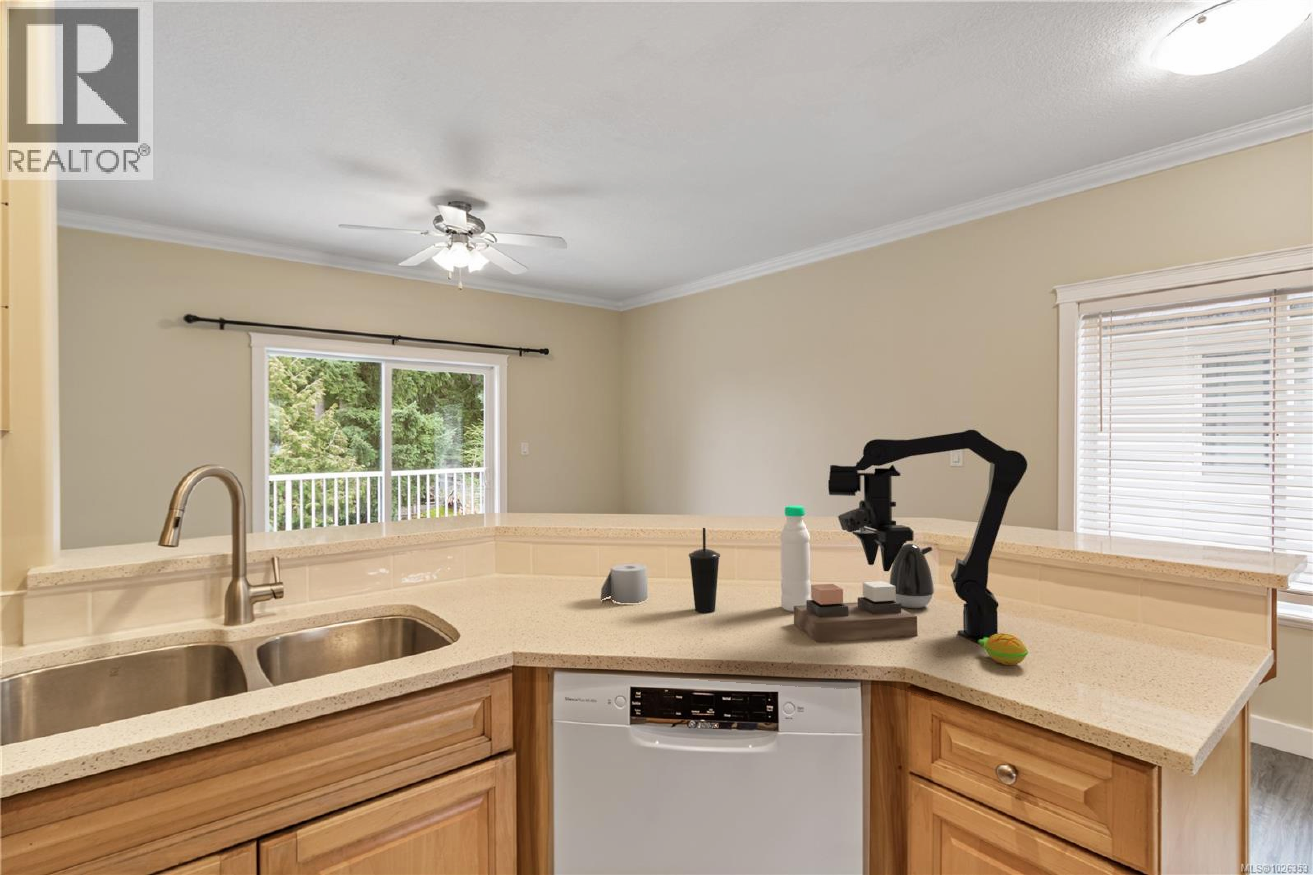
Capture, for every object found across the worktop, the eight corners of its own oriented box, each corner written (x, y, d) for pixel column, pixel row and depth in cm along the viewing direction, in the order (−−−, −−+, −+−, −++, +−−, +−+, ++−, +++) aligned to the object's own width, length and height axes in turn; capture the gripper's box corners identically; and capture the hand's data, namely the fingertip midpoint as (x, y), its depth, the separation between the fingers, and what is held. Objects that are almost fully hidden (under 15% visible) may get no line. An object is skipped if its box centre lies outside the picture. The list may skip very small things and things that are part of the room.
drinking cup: (720, 606, 155) (719, 525, 155) (720, 615, 148) (719, 530, 148) (690, 605, 156) (689, 525, 156) (688, 614, 148) (687, 530, 148)
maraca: (995, 671, 111) (995, 641, 111) (972, 651, 121) (971, 624, 121) (1036, 671, 110) (1036, 641, 110) (1009, 652, 120) (1008, 624, 120)
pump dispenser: (942, 610, 148) (941, 546, 149) (898, 611, 149) (897, 547, 149) (924, 599, 159) (923, 540, 159) (883, 600, 159) (882, 540, 159)
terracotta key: (843, 603, 132) (842, 589, 132) (820, 604, 132) (820, 590, 132) (832, 597, 137) (832, 583, 137) (811, 598, 136) (811, 584, 136)
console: (917, 635, 131) (916, 606, 131) (817, 642, 127) (817, 612, 127) (885, 618, 143) (884, 591, 143) (793, 623, 140) (793, 596, 140)
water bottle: (811, 613, 148) (810, 507, 148) (781, 612, 149) (779, 507, 149) (810, 605, 155) (809, 504, 155) (781, 604, 156) (780, 504, 156)
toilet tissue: (592, 603, 160) (591, 569, 160) (631, 594, 169) (631, 562, 169) (614, 610, 153) (614, 575, 153) (654, 600, 162) (654, 567, 162)
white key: (895, 600, 134) (895, 586, 134) (873, 601, 133) (873, 587, 133) (883, 594, 139) (883, 581, 139) (862, 595, 138) (862, 582, 138)
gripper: (825, 493, 144) (825, 561, 144) (863, 501, 126) (864, 579, 126) (870, 492, 146) (870, 559, 146) (914, 500, 128) (915, 576, 128)
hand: (878, 568), depth 136 cm, fingers open, 6 cm apart
